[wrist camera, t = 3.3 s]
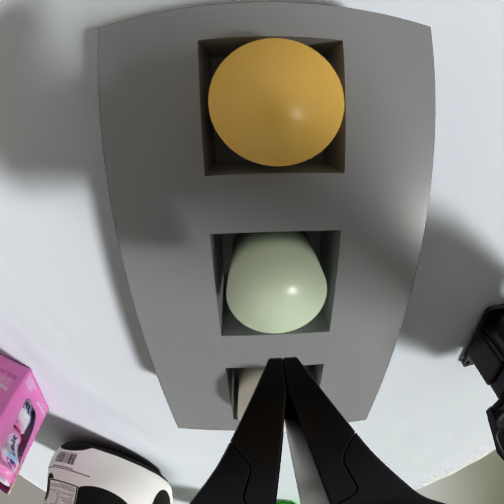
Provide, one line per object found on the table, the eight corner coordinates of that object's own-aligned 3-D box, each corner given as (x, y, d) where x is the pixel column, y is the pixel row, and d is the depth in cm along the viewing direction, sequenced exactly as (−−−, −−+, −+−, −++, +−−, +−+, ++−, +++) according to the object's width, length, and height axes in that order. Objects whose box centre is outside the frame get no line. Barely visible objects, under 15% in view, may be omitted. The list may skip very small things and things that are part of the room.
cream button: (307, 340, 17) (318, 391, 14) (302, 384, 19) (309, 431, 16) (237, 343, 17) (234, 395, 14) (241, 386, 19) (240, 434, 16)
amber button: (316, 61, 11) (342, 42, 7) (318, 151, 13) (343, 166, 9) (219, 62, 11) (205, 41, 7) (223, 153, 13) (212, 168, 9)
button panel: (391, 42, 11) (430, 26, 8) (353, 379, 21) (366, 419, 18) (133, 45, 12) (98, 28, 8) (186, 386, 22) (178, 427, 18)
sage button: (312, 214, 15) (331, 247, 11) (308, 285, 17) (322, 330, 13) (229, 216, 15) (222, 250, 12) (234, 287, 17) (230, 334, 13)
